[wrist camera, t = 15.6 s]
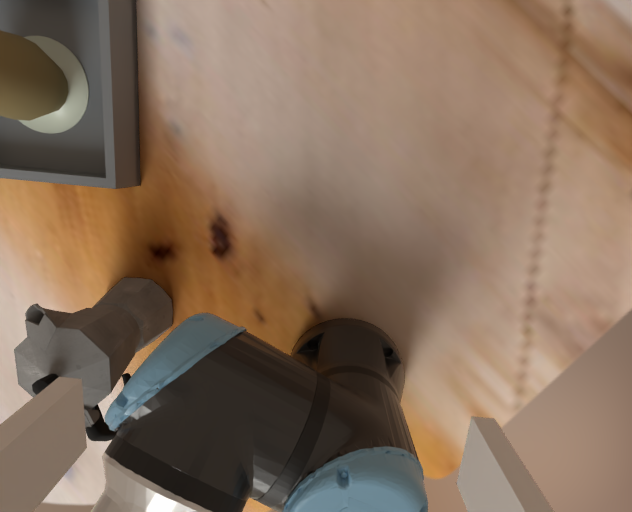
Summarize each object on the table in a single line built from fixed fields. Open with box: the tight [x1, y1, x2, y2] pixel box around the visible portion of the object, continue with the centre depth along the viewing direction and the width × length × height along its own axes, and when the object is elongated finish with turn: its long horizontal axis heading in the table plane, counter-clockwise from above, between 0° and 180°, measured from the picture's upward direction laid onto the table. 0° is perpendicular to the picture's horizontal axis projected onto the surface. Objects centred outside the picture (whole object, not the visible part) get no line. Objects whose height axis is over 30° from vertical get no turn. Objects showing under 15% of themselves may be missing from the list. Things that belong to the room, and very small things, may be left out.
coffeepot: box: [14, 277, 173, 441], centre depth 41 cm, size 15×9×18 cm, turn 18°
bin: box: [0, 0, 140, 189], centre depth 40 cm, size 20×20×6 cm
